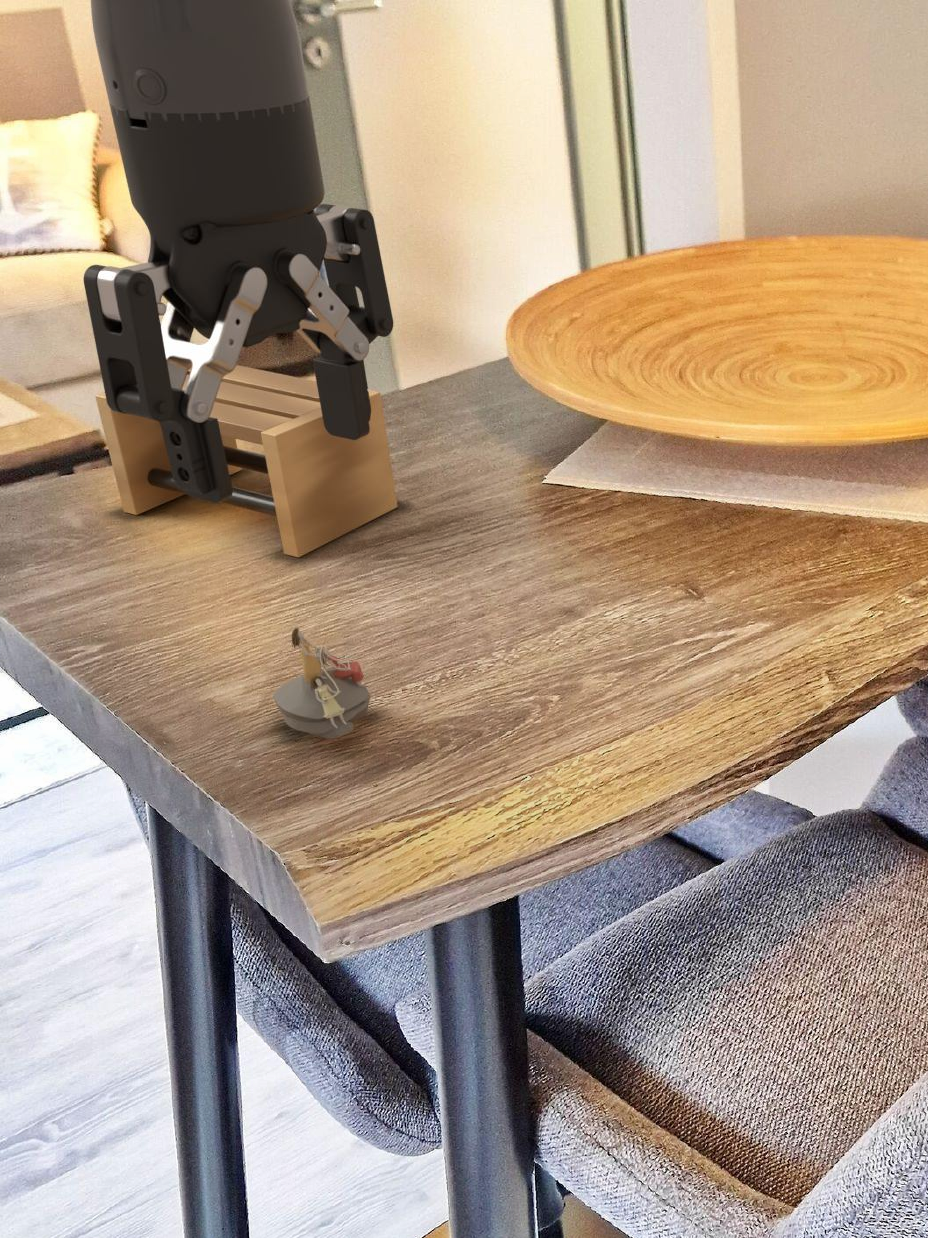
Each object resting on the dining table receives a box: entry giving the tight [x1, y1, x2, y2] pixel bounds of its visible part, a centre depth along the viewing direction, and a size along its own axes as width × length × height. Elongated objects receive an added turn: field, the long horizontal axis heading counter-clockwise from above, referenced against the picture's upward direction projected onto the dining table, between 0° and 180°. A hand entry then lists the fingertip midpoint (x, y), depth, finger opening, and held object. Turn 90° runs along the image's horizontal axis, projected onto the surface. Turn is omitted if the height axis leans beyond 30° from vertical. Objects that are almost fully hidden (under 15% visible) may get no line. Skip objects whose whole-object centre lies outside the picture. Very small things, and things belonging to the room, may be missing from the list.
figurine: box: [273, 627, 371, 739], centre depth 74 cm, size 5×4×6 cm
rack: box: [94, 364, 398, 558], centre depth 97 cm, size 9×15×8 cm, turn 65°
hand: (282, 465), depth 68 cm, fingers open, 8 cm apart
